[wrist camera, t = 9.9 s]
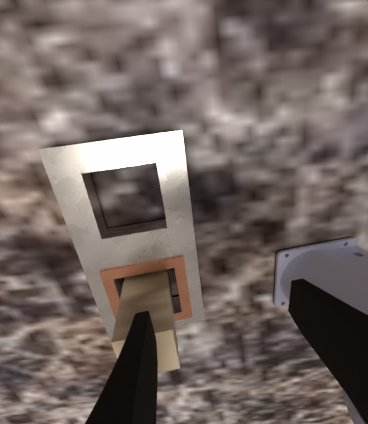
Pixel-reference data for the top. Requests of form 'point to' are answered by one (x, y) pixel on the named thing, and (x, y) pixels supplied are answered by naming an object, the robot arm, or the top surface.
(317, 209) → the top surface
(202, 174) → the top surface
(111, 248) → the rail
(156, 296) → the peg
